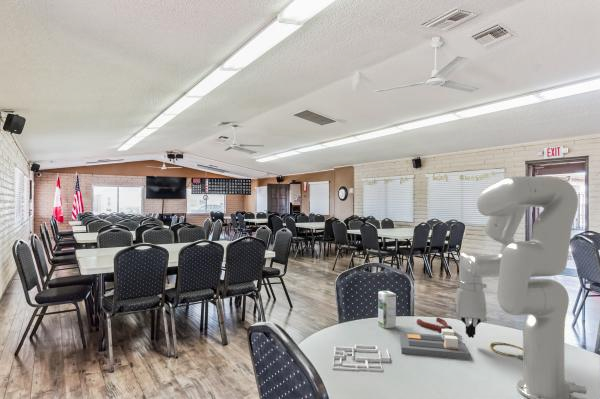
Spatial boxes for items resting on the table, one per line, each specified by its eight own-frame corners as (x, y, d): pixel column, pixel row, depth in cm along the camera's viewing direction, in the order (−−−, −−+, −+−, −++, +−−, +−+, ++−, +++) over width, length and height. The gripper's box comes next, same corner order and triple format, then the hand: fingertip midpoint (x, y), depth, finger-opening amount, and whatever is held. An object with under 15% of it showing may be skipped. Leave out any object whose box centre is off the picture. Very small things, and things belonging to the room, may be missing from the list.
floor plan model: (383, 343, 136) (383, 338, 136) (393, 374, 111) (393, 368, 112) (334, 341, 139) (334, 336, 139) (332, 371, 114) (332, 365, 114)
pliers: (445, 342, 138) (445, 334, 138) (415, 324, 158) (415, 318, 158) (472, 339, 140) (472, 332, 140) (439, 322, 161) (439, 316, 161)
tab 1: (452, 337, 134) (452, 329, 134) (454, 340, 131) (454, 332, 131) (441, 336, 135) (441, 328, 135) (442, 339, 132) (442, 331, 132)
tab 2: (456, 344, 127) (456, 336, 128) (457, 347, 125) (457, 339, 125) (444, 343, 128) (444, 335, 128) (445, 346, 125) (445, 338, 126)
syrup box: (377, 324, 156) (377, 291, 157) (389, 323, 158) (389, 290, 158) (384, 328, 151) (384, 294, 151) (396, 327, 153) (396, 293, 153)
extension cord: (512, 364, 118) (512, 358, 118) (482, 345, 134) (482, 340, 134) (546, 362, 120) (546, 356, 120) (513, 344, 135) (513, 339, 135)
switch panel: (459, 342, 136) (459, 335, 136) (469, 359, 121) (469, 352, 121) (399, 336, 142) (399, 331, 142) (401, 353, 126) (401, 346, 126)
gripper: (490, 285, 134) (489, 334, 134) (447, 282, 137) (447, 330, 137) (496, 290, 126) (495, 342, 126) (450, 287, 130) (450, 338, 130)
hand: (470, 336), depth 132 cm, fingers closed
